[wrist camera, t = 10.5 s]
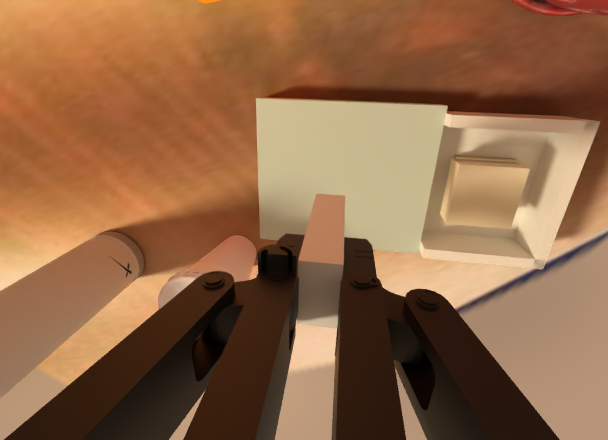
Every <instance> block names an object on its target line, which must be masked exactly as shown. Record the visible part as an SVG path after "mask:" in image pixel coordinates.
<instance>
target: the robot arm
mask: <svg viewBox="0 0 608 440" xmlns="http://www.w3.org/2000/svg"><path fill="white" fill-rule="evenodd" d="M344 226H345V195H330V194H316V196H315V200H314V204H313V207H312V211H311V215H310V218H309V222H308V226H307V229H306V233H305V235H300V234H287V233H286V234H285V235H283V236H282V237H281V238H279V240H278V243H277V245H269V246H265V247H263V248H261V249H260V250H259V251H258V252H257V254H258V275H257V277H256V278H255V279H252V280H247V281H239V282H234V277H233V276H232V275H231V274H230V273H227V272H224V271H212V272H208V273H205V274H202V275H201V276H199V277H198V278H196V279H195V280H194V281H193V282H192V283H190V284H189V285H188V286H187V287H186V288H184V289H183V290H182V291H181V292H180V293H178V294H177V295H176V296H175V297H174V298H172V299H171V300H170V301H169V302H168V303H166V304H165V305H164V306H163V307H162V308H160V309H159V310H158V311H157V312H156V313H155V314H153V315H152V316H151V317H150V318H149V319H147V320H146V321H145V322H144V323H143V324H141V325H140V326H139V327H138V328H137V329H135V330H134V331H133V332H132V333H131V334H129V335H128V336H127V337H126V338H125V339H123V340H122V341H121V342H120V343H119V344H118V345H116V346H115V347H114V348H113V349H112V350H110V351H109V352H108V353H107V354H106V355H104V356H103V357H102V358H101V359H100V360H98V361H97V362H96V363H95V364H94V365H92V366H91V367H90V368H89V369H88V370H86V371H85V372H84V373H83V374H82V375H81V376H79V377H78V378H77V379H76V380H75V381H73V382H72V383H71V384H70V385H69V386H67V387H66V388H65V389H64V390H63V391H62V392H60V393H59V394H58V395H57V396H56V397H54V398H53V399H52V400H51V401H49V402H48V403H47V404H46V405H45V406H44V407H42V408H41V409H40V410H39V411H38V412H36V413H35V414H34V415H33V416H32V417H30V418H29V419H28V420H27V421H26V422H24V423H23V424H22V425H21V426H20V427H18V428H17V429H16V430H15V431H14V432H13V433H11V434H10V435H9V436H8V437H7V438H5V439H4V440H169V438H170V437H171V436H172V434H173V433H174V432H175V430H176V429H177V428H178V426H179V425H180V424H181V422H182V421H183V419H184V418H185V417H186V415H187V414H188V413H189V411H190V410H191V409H192V407H193V406H194V405H195V403H196V402H197V400H198V399H199V398H200V396H201V395H202V394H203V392H204V391H205V393H204V395H203V397H202V400H201V402H200V404H199V406H198V408H197V410H196V413H195V415H194V417H193V420H192V422H191V424H190V426H189V428H188V431H187V433H186V435H185V437H184V439H183V440H275V435H276V429H277V425H278V420H279V414H280V410H281V405H282V400H283V394H284V389H285V384H286V379H287V374H288V369H289V364H290V359H291V354H292V349H293V344H294V339H295V326H296V320H297V324H301V325H310V326H319V327H328V328H337V338H336V349H335V356H336V357H335V379H334V399H333V420H332V440H406V436H405V430H404V423H403V416H402V410H401V404H400V397H399V391H398V385H397V379H396V372H395V368H396V370H397V372H398V375H399V377H400V379H401V381H402V383H403V386H404V388H405V390H406V393H407V395H408V397H409V400H410V402H411V404H412V406H413V409H414V411H415V413H416V415H417V418H418V419H419V422H420V424H421V426H422V429H423V431H424V433H425V436H426V438H427V440H559V438H558V437H557V436H556V434H555V433H554V432H553V431H552V430H551V428H550V427H549V426H548V425H547V423H546V422H545V421H544V420H543V419H542V417H541V416H540V415H539V413H538V412H537V411H536V410H535V408H534V407H533V406H532V405H531V403H530V402H529V401H528V400H527V399H526V397H525V396H524V395H523V393H521V391H520V390H519V388H518V387H517V386H516V385H515V384H514V382H513V381H512V380H511V379H510V377H509V376H508V375H507V374H506V372H505V371H504V370H503V369H502V367H501V366H500V365H499V364H498V362H497V361H496V360H495V359H494V357H493V356H492V355H491V354H490V353H489V351H488V350H487V349H486V347H485V346H484V345H483V344H482V343H481V341H480V340H479V339H478V338H477V336H476V335H475V334H474V333H473V331H472V330H471V329H470V328H469V327H468V325H467V324H466V323H465V321H464V320H463V319H462V318H461V316H460V315H459V314H458V313H457V311H456V310H455V309H454V308H453V306H452V305H451V304H450V303H449V302H448V300H446V299H445V298H444V297H443V296H442V295H440V294H438V293H436V292H434V291H431V290H427V289H414V290H411V291H409V292H408V293H407V294H406V297H403V296H400V295H397V294H394V293H391V292H389V291H387V290H386V289H384V288H383V287H382V284H381V282H380V280H379V279H378V278H377V275H376V269H375V262H374V255H373V248H372V244H371V243H370V242H369V241H368V240H367V239H361V238H348V237H344Z"/></svg>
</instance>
